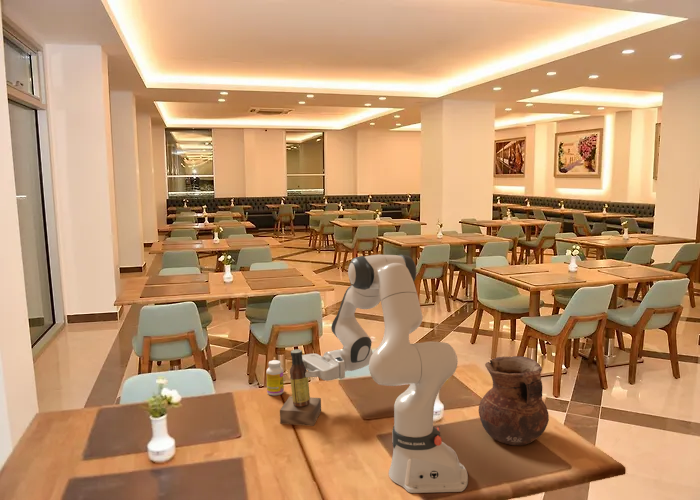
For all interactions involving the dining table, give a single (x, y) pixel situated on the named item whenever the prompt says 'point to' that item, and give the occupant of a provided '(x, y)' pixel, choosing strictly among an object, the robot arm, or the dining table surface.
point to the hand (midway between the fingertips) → (298, 370)
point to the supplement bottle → (275, 378)
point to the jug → (514, 401)
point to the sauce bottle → (299, 380)
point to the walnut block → (300, 412)
